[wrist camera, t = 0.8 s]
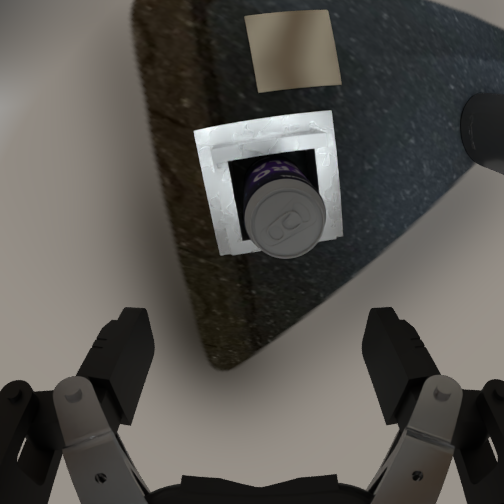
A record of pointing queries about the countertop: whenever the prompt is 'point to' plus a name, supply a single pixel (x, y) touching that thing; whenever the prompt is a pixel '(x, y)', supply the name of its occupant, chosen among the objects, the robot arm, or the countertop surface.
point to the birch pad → (292, 50)
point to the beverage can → (282, 208)
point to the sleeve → (264, 143)
